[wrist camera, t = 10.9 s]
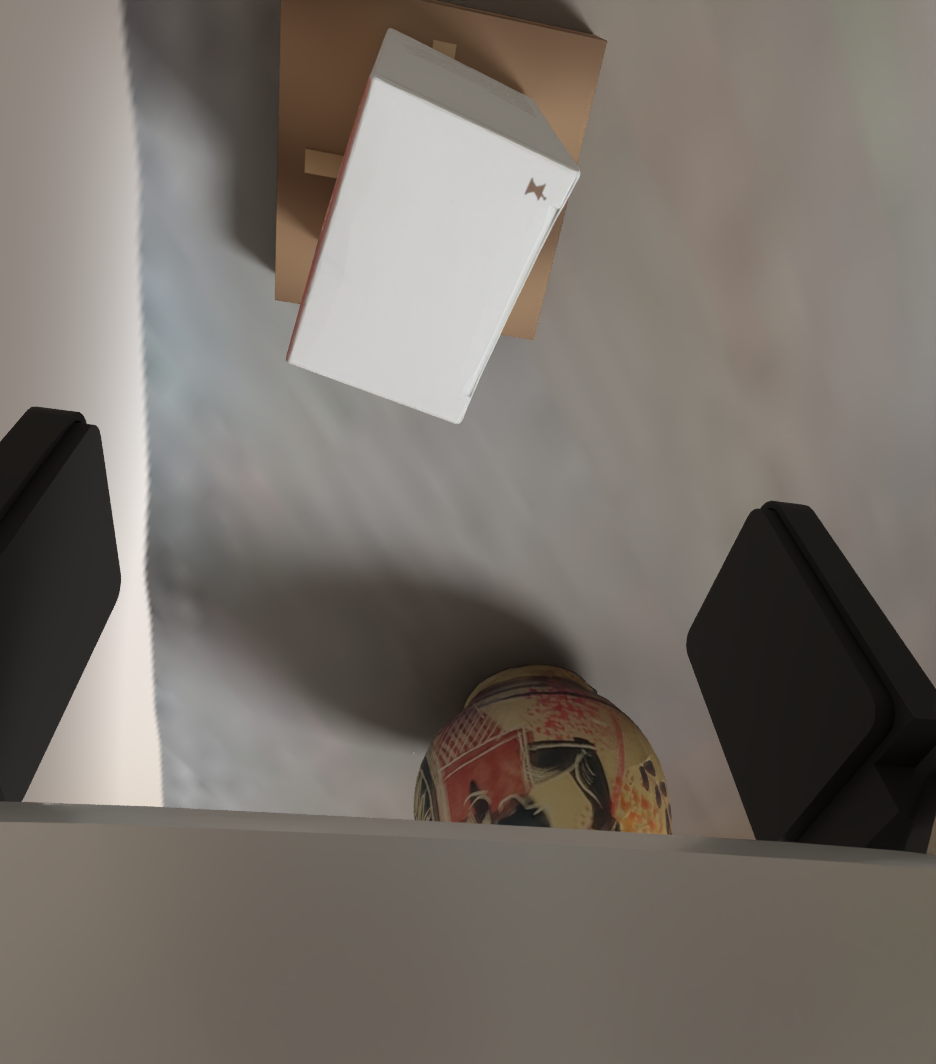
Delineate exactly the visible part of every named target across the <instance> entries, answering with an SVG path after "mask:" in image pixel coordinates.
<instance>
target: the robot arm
mask: <svg viewBox="0 0 936 1064" xmlns="http://www.w3.org/2000/svg"><path fill="white" fill-rule="evenodd" d="M120 584H121V573H120V566H119V559H118V552H117V545H116V538H115V531H114V525H113V517H112V511H111V504H110V496H109V489H108V483H107V476H106V469H105V462H104V455H103V448H102V441H101V435H100V431H99V429H98V427H97V426H96V425H90V424H87V423H86V420H85V418H84V416H83V415H82V414H81V413H80V412H74V411H66V410H58V409H51V408H42V407H31V408H30V409H28V410H27V412H25V414H24V415H23V416H22V417H21V418H20V419H19V421H18V422H17V423H16V424H15V425H14V427H13V428H12V429H11V430H10V431H9V432H8V433H7V435H6V436H5V437H4V438H3V439H2V440H1V442H0V1064H936V689H935V687H934V686H933V684H932V683H931V681H930V680H929V679H928V677H927V676H926V674H925V673H924V671H923V670H922V668H921V667H920V665H919V664H918V663H917V661H916V660H915V658H914V657H913V655H912V654H911V652H910V651H909V649H908V648H907V647H906V645H905V644H904V642H903V641H902V639H901V638H900V636H899V635H898V633H897V632H896V630H895V629H894V628H893V626H892V625H891V623H890V622H889V620H888V619H887V617H886V616H885V614H884V613H883V612H882V610H881V609H880V607H879V606H878V604H877V603H876V601H875V600H874V598H873V597H872V595H871V594H870V593H869V591H868V590H867V588H866V587H865V585H864V584H863V582H862V581H861V579H860V578H859V577H858V575H857V574H856V572H855V571H854V569H853V568H852V566H851V565H850V563H849V562H848V561H847V559H846V558H845V556H844V555H843V553H842V552H841V550H840V549H839V547H838V546H837V544H836V543H835V542H834V540H833V539H832V537H831V536H830V534H829V533H828V531H827V530H826V528H825V527H824V526H823V524H822V523H821V521H820V520H819V518H818V517H817V515H816V514H815V512H814V511H813V510H812V509H811V508H810V507H809V506H806V505H801V504H793V503H785V502H777V501H769V502H766V503H765V504H764V505H763V506H762V507H761V508H760V509H754V510H753V511H752V512H751V513H750V514H749V516H748V517H747V519H746V521H745V523H744V525H743V527H742V529H741V531H740V533H739V535H738V537H737V539H736V541H735V543H734V544H733V546H732V548H731V550H730V552H729V554H728V556H727V558H726V560H725V562H724V564H723V566H722V568H721V570H720V572H719V574H718V575H717V577H716V579H715V581H714V583H713V585H712V587H711V589H710V591H709V593H708V595H707V597H706V599H705V601H704V603H703V605H702V607H701V608H700V610H699V612H698V614H697V616H696V618H695V620H694V622H693V624H692V626H691V628H690V630H689V632H688V636H687V643H686V647H687V653H688V657H689V659H690V662H691V665H692V668H693V670H694V673H695V676H696V678H697V681H698V684H699V686H700V689H701V692H702V695H703V697H704V700H705V703H706V705H707V708H708V711H709V714H710V716H711V719H712V722H713V724H714V727H715V730H716V732H717V735H718V738H719V741H720V743H721V746H722V749H723V751H724V754H725V757H726V760H727V762H728V765H729V768H730V770H731V773H732V776H733V779H734V781H735V784H736V787H737V789H738V792H739V795H740V797H741V800H742V803H743V806H744V808H745V811H746V814H747V816H748V819H749V822H750V825H751V827H752V830H753V833H754V835H755V838H756V840H746V839H730V838H714V837H697V836H681V835H665V834H648V833H632V832H616V831H599V830H581V829H564V828H546V827H528V826H511V825H493V824H475V823H457V822H439V821H421V820H403V819H385V818H366V817H346V816H327V815H307V814H287V813H268V812H248V811H228V810H209V809H189V808H169V807H148V806H119V805H91V804H90V805H89V804H63V803H34V802H21V801H22V800H23V798H24V796H25V794H26V792H27V790H28V788H29V785H30V784H31V781H32V779H33V777H34V775H35V773H36V771H37V768H38V766H39V764H40V762H41V760H42V758H43V756H44V754H45V752H46V750H47V747H48V745H49V743H50V741H51V739H52V737H53V735H54V733H55V730H56V728H57V726H58V724H59V722H60V720H61V718H62V716H63V713H64V711H65V709H66V707H67V705H68V703H69V701H70V699H71V697H72V694H73V692H74V690H75V688H76V686H77V684H78V682H79V680H80V678H81V676H82V673H83V671H84V669H85V667H86V665H87V663H88V661H89V659H90V656H91V654H92V652H93V650H94V648H95V646H96V644H97V642H98V639H99V637H100V635H101V633H102V631H103V629H104V627H105V624H106V623H107V620H108V618H109V616H110V614H111V612H112V610H113V608H114V606H115V603H116V601H117V599H118V595H119V591H120Z"/></svg>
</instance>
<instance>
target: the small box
mask: <svg viewBox="0 0 936 1064" xmlns="http://www.w3.org/2000/svg"><path fill="white" fill-rule="evenodd" d="M579 177H580V170H579V168H578V166H577V165H576V163H575V162H574V160H573V159H572V157H571V155H570V154H569V153H568V151H567V149H566V148H565V146H564V145H563V143H562V142H561V141H560V139H559V138H558V137H557V135H556V133H555V132H554V131H553V129H552V127H551V126H550V125H549V123H548V122H547V120H546V119H545V117H544V115H543V114H542V113H541V111H540V109H539V108H538V106H537V105H536V103H535V101H534V100H533V99H532V98H530V97H528V96H526V95H524V94H522V93H520V92H518V91H516V90H514V89H512V88H510V87H508V86H506V85H504V84H502V83H500V82H498V81H496V80H494V79H492V78H490V77H488V76H486V75H484V74H483V73H481V72H479V71H477V70H475V69H473V68H471V67H469V66H466V65H464V64H462V63H460V62H458V61H456V60H454V59H452V58H450V57H448V56H446V55H444V54H443V53H441V52H439V51H437V50H435V49H433V48H431V47H429V46H427V45H425V44H423V43H421V42H419V41H417V40H415V39H413V38H411V37H409V36H407V35H405V34H403V33H401V32H399V31H397V30H395V29H393V28H389V29H388V30H387V32H386V34H385V37H384V40H383V42H382V45H381V47H380V50H379V53H378V56H377V59H376V61H375V64H374V67H373V69H372V71H371V74H370V76H369V78H368V81H367V85H366V88H365V91H364V94H363V97H362V100H361V103H360V106H359V109H358V113H357V116H356V119H355V122H354V126H353V129H352V132H351V135H350V138H349V142H348V145H347V148H346V151H345V155H344V158H343V161H342V164H341V167H340V171H339V174H338V177H337V180H336V183H335V187H334V190H333V193H332V196H331V199H330V203H329V206H328V209H327V212H326V215H325V219H324V222H323V226H322V229H321V233H320V236H319V240H318V243H317V247H316V250H315V254H314V257H313V261H312V265H311V268H310V272H309V275H308V279H307V283H306V286H305V290H304V293H303V297H302V301H301V304H300V308H299V312H298V316H297V319H296V323H295V327H294V330H293V334H292V338H291V341H290V345H289V349H288V352H287V356H286V361H287V362H288V363H289V364H292V365H295V366H298V367H301V368H303V369H306V370H309V371H312V372H314V373H317V374H320V375H323V376H325V377H328V378H331V379H334V380H336V381H339V382H342V383H345V384H347V385H350V386H353V387H356V388H358V389H361V390H364V391H367V392H369V393H372V394H375V395H378V396H380V397H383V398H386V399H389V400H391V401H394V402H397V403H400V404H402V405H405V406H408V407H411V408H413V409H416V410H419V411H422V412H424V413H427V414H430V415H433V416H435V417H438V418H441V419H444V420H446V421H449V422H452V423H455V424H458V423H461V421H462V420H463V418H464V415H465V412H466V410H467V407H468V405H469V403H470V400H471V398H472V395H473V393H474V390H475V388H476V386H477V384H478V381H479V379H480V377H481V375H482V372H483V370H484V368H485V366H486V364H487V362H488V360H489V357H490V355H491V353H492V351H493V349H494V347H495V345H496V343H497V341H498V339H499V336H500V334H501V332H502V330H503V328H504V326H505V324H506V321H507V319H508V317H509V315H510V313H511V311H512V309H513V307H514V305H515V302H516V300H517V298H518V296H519V294H520V292H521V290H522V288H523V286H524V284H525V282H526V280H527V278H528V276H529V274H530V271H531V269H532V267H533V265H534V263H535V261H536V259H537V257H538V255H539V253H540V251H541V249H542V247H543V245H544V243H545V241H546V239H547V237H548V235H549V233H550V231H551V229H552V227H553V225H554V223H555V221H556V219H557V217H558V215H559V214H560V212H561V210H562V209H563V207H564V205H565V203H566V201H567V199H568V197H569V195H570V194H571V192H572V190H573V188H574V186H575V184H576V182H577V181H578V179H579Z"/></svg>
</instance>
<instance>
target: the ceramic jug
mask: <svg viewBox="0 0 936 1064" xmlns="http://www.w3.org/2000/svg"><path fill="white" fill-rule="evenodd" d="M413 754H414V752H413ZM414 818H415V820H421V821H439V822H457V823H475V824H493V825H511V826H528V827H546V828H564V829H581V830H599V831H616V832H632V833H648V834H665V835H672V817H671V806H670V800H669V795H668V789H667V784H666V780H665V777H664V774H663V771H662V768H661V765H660V762H659V759H658V758H657V756H656V754H655V752H654V750H653V748H652V747H651V745H650V743H649V741H648V739H647V738H646V737H645V736H644V734H643V733H642V732H641V730H640V729H639V727H638V726H637V725H636V724H635V723H634V722H633V721H632V720H631V719H630V718H629V717H628V716H627V715H626V714H625V713H623V712H622V711H621V710H620V709H619V708H617V707H616V706H615V705H614V704H613V703H611V702H610V701H609V700H607V699H606V698H604V697H602V696H600V695H598V694H597V691H596V690H594V689H593V688H591V687H589V686H588V685H587V683H586V682H585V680H583V679H582V678H581V677H579V676H578V675H576V674H575V673H574V672H572V671H569V670H565V669H562V668H559V667H554V666H549V665H530V666H524V667H516V668H510V669H507V670H504V671H501V672H499V673H497V674H495V675H493V676H491V677H489V678H487V679H485V680H484V681H482V682H481V683H480V684H479V685H478V686H477V687H476V688H475V689H474V690H473V692H472V693H471V694H470V696H469V697H468V698H467V701H466V704H465V706H464V709H463V710H462V711H461V712H460V713H459V714H458V715H456V716H455V717H454V718H453V719H452V720H451V721H449V722H448V723H447V724H446V725H445V726H444V727H443V728H441V729H440V731H439V732H438V733H437V735H436V736H435V737H434V739H433V741H432V743H431V745H430V747H429V749H428V751H427V753H426V755H425V757H424V759H423V761H422V763H421V766H420V770H419V773H418V776H417V780H416V787H415V796H414Z"/></svg>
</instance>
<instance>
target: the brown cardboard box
mask: <svg viewBox="0 0 936 1064" xmlns="http://www.w3.org/2000/svg"><path fill="white" fill-rule="evenodd" d="M389 28H393V29H395V30H397V31H399V32H401V33H403V34H405V35H407V36H409V37H411V38H413V39H415V40H417V41H419V42H421V43H423V44H425V45H427V46H429V47H431V48H433V49H435V50H437V51H439V52H441V53H443V54H444V55H446V56H448V57H450V58H452V59H454V60H456V61H458V62H460V63H462V64H464V65H466V66H469V67H471V68H473V69H475V70H477V71H479V72H481V73H483V74H484V75H486V76H488V77H490V78H492V79H494V80H496V81H498V82H500V83H502V84H504V85H506V86H508V87H510V88H512V89H514V90H516V91H518V92H520V93H522V94H524V95H526V96H528V97H530V98H532V99H533V100H534V101H535V103H536V105H537V106H538V108H539V109H540V111H541V113H542V114H543V115H544V117H545V119H546V120H547V122H548V123H549V125H550V126H551V127H552V129H553V131H554V132H555V133H556V135H557V137H558V138H559V139H560V141H561V142H562V143H563V145H564V146H565V148H566V149H567V151H568V153H569V154H570V155H571V157H572V159H573V160H574V162H575V163H576V165H577V162H578V158H579V154H580V150H581V146H582V142H583V137H584V133H585V129H586V125H587V121H588V117H589V113H590V109H591V105H592V101H593V97H594V93H595V89H596V85H597V81H598V77H599V73H600V69H601V64H602V60H603V56H604V52H605V48H606V44H607V41H606V40H604V39H602V38H600V37H598V36H596V35H593V34H588V33H584V32H579V31H575V30H570V29H565V28H561V27H556V26H552V25H547V24H542V23H538V22H533V21H529V20H524V19H519V18H515V17H510V16H506V15H501V14H497V13H492V12H487V11H483V10H478V9H474V8H469V7H464V6H460V5H455V4H451V3H446V2H441V1H437V0H281V22H280V72H279V121H278V170H277V220H276V269H275V300H278V301H284V302H291V303H297V304H301V301H302V297H303V293H304V290H305V286H306V283H307V279H308V275H309V272H310V268H311V265H312V261H313V257H314V254H315V250H316V247H317V243H318V240H319V236H320V233H321V229H322V226H323V222H324V219H325V215H326V212H327V209H328V206H329V203H330V199H331V196H332V193H333V190H334V187H335V183H336V180H337V177H338V174H339V171H340V167H341V164H342V161H343V158H344V155H345V151H346V148H347V145H348V142H349V138H350V135H351V132H352V129H353V126H354V122H355V119H356V116H357V113H358V109H359V106H360V103H361V100H362V97H363V94H364V91H365V88H366V85H367V81H368V78H369V76H370V74H371V71H372V69H373V67H374V64H375V61H376V59H377V56H378V53H379V50H380V47H381V45H382V42H383V40H384V37H385V34H386V32H387V30H388V29H389ZM568 198H569V197H568ZM567 202H568V199H567V201H566V203H565V205H564V207H563V209H562V210H561V212H560V214H559V215H558V217H557V219H556V221H555V223H554V225H553V227H552V229H551V231H550V233H549V235H548V237H547V239H546V241H545V243H544V245H543V247H542V249H541V251H540V253H539V255H538V257H537V259H536V261H535V263H534V265H533V267H532V269H531V271H530V274H529V276H528V278H527V280H526V282H525V284H524V286H523V288H522V290H521V292H520V294H519V296H518V298H517V300H516V302H515V305H514V307H513V309H512V311H511V313H510V315H509V317H508V319H507V321H506V324H505V326H504V328H503V330H502V332H501V334H500V335H506V336H512V337H519V338H525V339H532V340H534V336H535V332H536V328H537V324H538V320H539V316H540V312H541V308H542V304H543V300H544V296H545V292H546V288H547V283H548V279H549V275H550V271H551V267H552V263H553V259H554V255H555V251H556V247H557V243H558V239H559V235H560V231H561V227H562V223H563V219H564V215H565V210H566V206H567Z"/></svg>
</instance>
